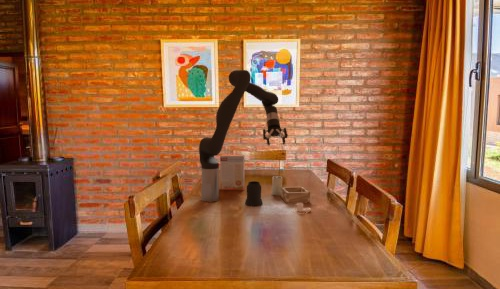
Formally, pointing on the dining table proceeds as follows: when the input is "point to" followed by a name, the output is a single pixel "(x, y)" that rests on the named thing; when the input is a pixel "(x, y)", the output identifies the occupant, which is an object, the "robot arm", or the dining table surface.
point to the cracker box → (232, 172)
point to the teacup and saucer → (301, 208)
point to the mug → (253, 194)
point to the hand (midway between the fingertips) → (276, 144)
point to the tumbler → (276, 185)
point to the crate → (295, 195)
